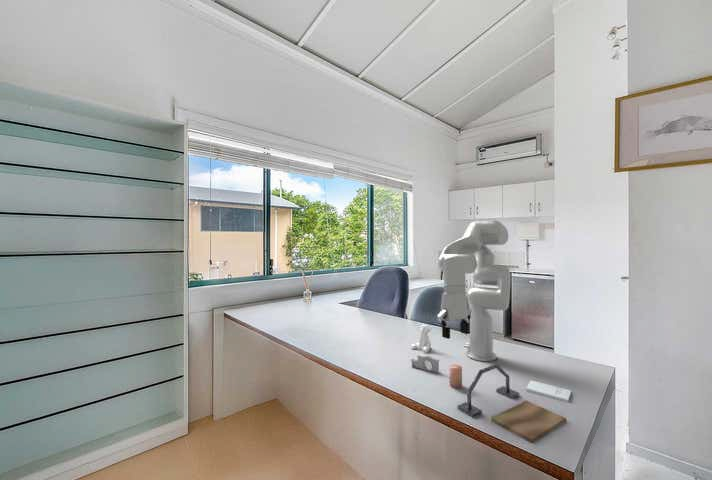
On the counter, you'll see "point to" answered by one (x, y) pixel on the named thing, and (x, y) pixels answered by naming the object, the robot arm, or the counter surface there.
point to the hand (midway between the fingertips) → (455, 335)
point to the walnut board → (528, 420)
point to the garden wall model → (422, 363)
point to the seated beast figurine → (423, 340)
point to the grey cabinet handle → (502, 390)
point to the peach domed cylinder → (455, 376)
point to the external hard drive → (549, 391)
